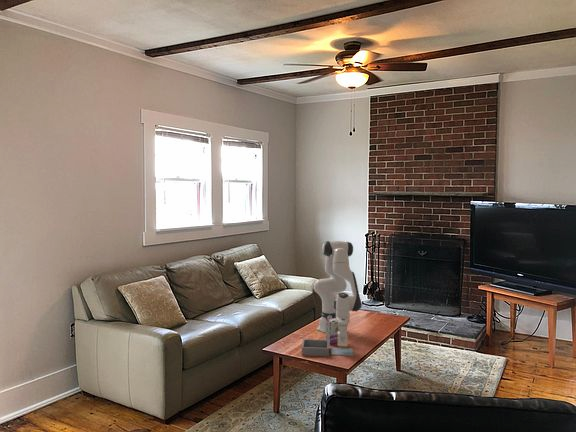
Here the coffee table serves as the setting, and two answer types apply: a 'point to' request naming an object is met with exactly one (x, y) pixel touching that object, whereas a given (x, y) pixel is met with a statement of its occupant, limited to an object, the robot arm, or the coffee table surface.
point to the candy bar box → (332, 331)
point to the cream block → (340, 340)
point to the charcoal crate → (310, 349)
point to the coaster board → (342, 351)
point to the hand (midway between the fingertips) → (342, 340)
